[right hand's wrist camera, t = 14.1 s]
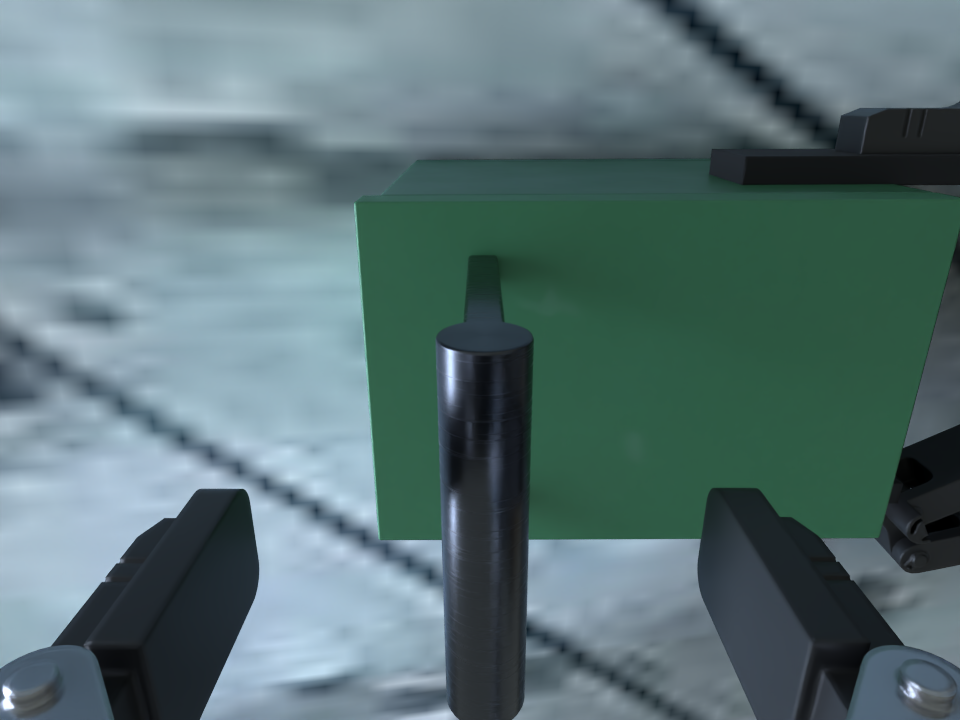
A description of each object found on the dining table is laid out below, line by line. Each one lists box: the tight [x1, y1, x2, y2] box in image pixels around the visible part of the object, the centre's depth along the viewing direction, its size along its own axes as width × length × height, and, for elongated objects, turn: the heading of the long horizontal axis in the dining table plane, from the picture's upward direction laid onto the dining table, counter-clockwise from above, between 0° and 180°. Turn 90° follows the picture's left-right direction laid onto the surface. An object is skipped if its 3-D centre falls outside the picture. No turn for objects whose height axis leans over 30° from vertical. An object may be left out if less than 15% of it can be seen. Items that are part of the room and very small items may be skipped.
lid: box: [354, 193, 960, 720], centre depth 14 cm, size 14×9×8 cm
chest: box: [381, 159, 933, 196], centre depth 23 cm, size 14×9×10 cm
